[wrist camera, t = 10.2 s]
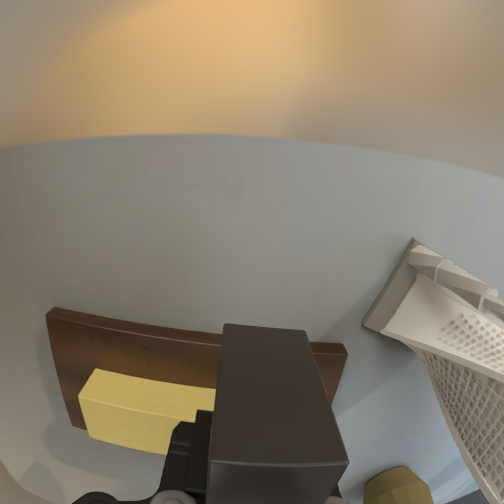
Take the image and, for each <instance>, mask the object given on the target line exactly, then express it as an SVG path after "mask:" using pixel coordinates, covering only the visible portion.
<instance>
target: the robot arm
mask: <svg viewBox="0 0 504 504" xmlns="http://www.w3.org/2000/svg"><path fill="white" fill-rule="evenodd" d="M212 419H213V411H208V410H200V409H197V412H196V417H195V423H193V422H186V421H180V422H179V424H178V425H177V426H176V427H175V428H174V429H173V431H172V435H171V439H170V444H169V447H168V453H167V456H166V460H165V465H164V469H163V473H162V478H161V482H160V486H159V489H158V490H157V492H156V493H155V494H154V495H153V496H151V497H149V498H147V499H145V500H140V501H118V500H117V499H115V498H114V497H113V496H111V495H109V494H107V493H104V492H90V493H87V494H85V495H83V496H82V497H80V498H79V499H78V500H76V501H75V502H73V503H72V504H206V489H207V470H208V456H209V447H210V438H211V428H212ZM325 504H349V503H348V502H347V501H345V500H344V499H343V498H342V497H341V495H340V492H339V488H338V484H337V485H336V487H335V488H334V490H333V492H332V493H331V495H330V497H329V498H328V500H327V501H326V503H325Z"/></svg>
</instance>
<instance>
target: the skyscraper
mask: <svg viewBox="0 0 504 504" xmlns="http://www.w3.org/2000/svg"><path fill="white" fill-rule="evenodd" d="M497 296H498V291H497V290H495V289H494V288H493V287H492V286H490V285H487V284H485V283H483V282H482V281H480V280H479V279H477V278H475V277H474V276H472V275H470V274H469V273H467V272H465V271H464V270H462V269H460V268H459V267H457V266H456V264H454V263H453V262H452V261H450V260H449V259H447V258H443V257H442V256H440V255H438V254H437V253H435V252H433V251H431V250H429V249H428V248H427V247H425V246H424V245H422V244H421V243H419V242H418V241H416V240H415V239H412V241H411V243H410V244H409V246H408V248H407V250H406V252H405V253H404V255H403V257H402V259H401V260H400V262H399V264H398V266H397V267H396V269H395V271H394V272H393V274H392V276H391V277H390V279H389V281H388V282H387V284H386V286H385V287H384V289H383V291H382V292H381V294H380V295H379V297H378V299H377V300H376V302H375V303H374V305H373V306H372V308H371V309H370V311H369V313H368V314H367V316H366V317H365V319H364V320H363V322H362V324H363V325H364V326H365V327H368V328H370V329H372V330H374V331H376V332H378V333H381V334H383V335H385V336H387V337H389V338H392V339H394V340H396V341H398V342H400V343H403V344H405V345H407V346H408V347H409V348H411V349H412V350H413V351H414V352H415V353H416V354H417V355H418V356H419V357H420V358H421V359H422V361H423V362H424V363H425V365H426V366H427V369H428V373H429V376H430V379H431V382H432V385H433V388H434V390H435V393H436V396H437V399H438V402H439V404H440V407H441V410H442V412H443V415H444V417H445V420H446V422H447V425H448V427H449V429H450V432H451V434H452V436H453V439H454V441H455V443H456V445H457V447H458V449H459V451H460V453H461V455H462V457H463V459H464V461H465V463H466V465H467V467H468V468H469V470H470V472H471V474H472V476H473V478H474V479H475V481H476V483H477V484H478V486H479V487H480V489H481V491H482V492H483V494H484V495H485V497H486V499H487V500H488V501H489V503H490V504H504V323H503V322H501V321H500V320H498V319H497V318H495V317H494V316H492V315H491V314H489V313H488V312H489V311H491V312H492V313H494V314H495V315H497V316H498V317H499V318H501V319H502V320H503V321H504V302H503V301H501V300H500V299H498V298H497Z"/></svg>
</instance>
